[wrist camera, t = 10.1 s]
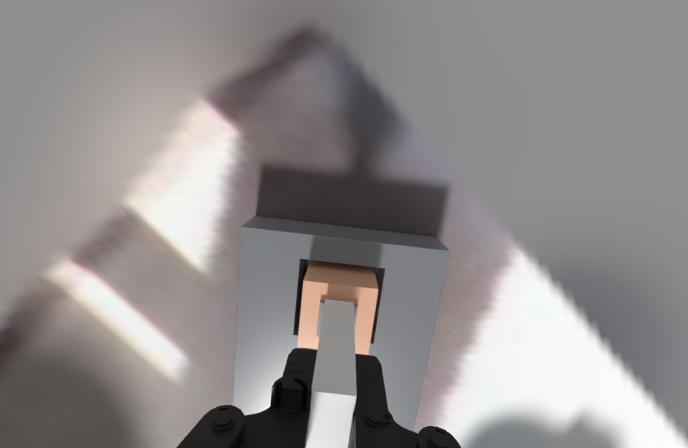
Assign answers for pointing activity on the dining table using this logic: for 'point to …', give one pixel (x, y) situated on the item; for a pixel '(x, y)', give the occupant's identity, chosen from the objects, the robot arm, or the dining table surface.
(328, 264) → the orange hollow cube
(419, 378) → the grey board
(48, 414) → the dining table surface
